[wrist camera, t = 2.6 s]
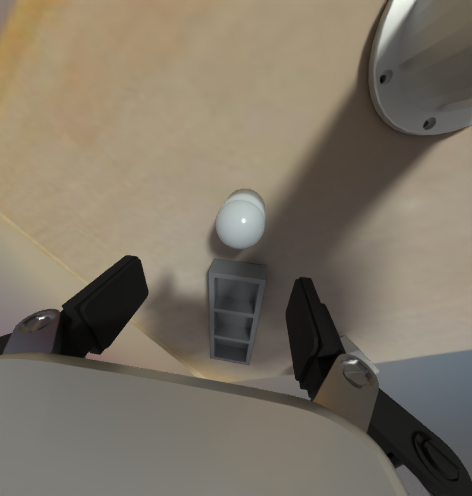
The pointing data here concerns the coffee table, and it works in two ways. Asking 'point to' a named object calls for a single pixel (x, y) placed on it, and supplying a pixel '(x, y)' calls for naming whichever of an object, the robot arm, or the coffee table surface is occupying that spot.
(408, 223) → the coffee table surface
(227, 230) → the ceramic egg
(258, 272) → the grey compartment tray
